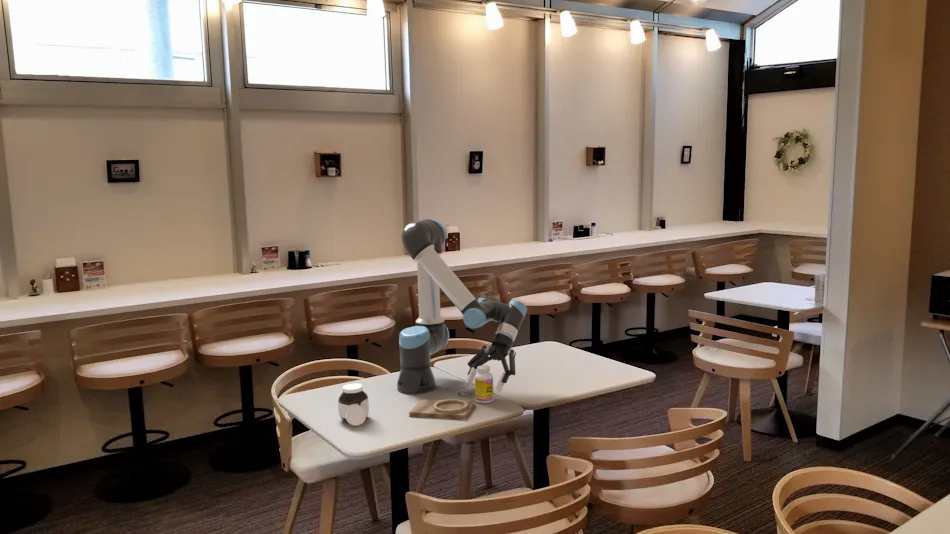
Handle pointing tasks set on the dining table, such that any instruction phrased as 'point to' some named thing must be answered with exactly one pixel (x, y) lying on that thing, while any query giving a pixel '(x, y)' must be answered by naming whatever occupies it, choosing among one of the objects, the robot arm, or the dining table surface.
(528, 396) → the dining table surface
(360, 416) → the spread jar
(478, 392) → the supplement bottle
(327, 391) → the dining table surface
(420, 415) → the seat board
